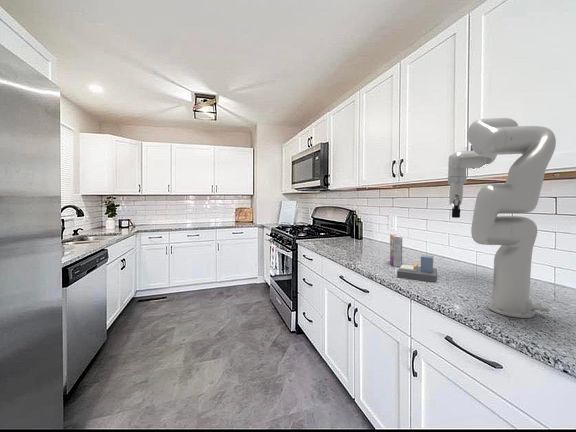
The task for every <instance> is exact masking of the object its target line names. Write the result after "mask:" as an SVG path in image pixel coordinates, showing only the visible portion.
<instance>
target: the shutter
mask: <svg viewBox="0 0 576 432" xmlns="http://www.w3.org/2000/svg"><path fill="white" fill-rule="evenodd" d="M418 265H419V263H418V262H415V263H414V265H412V264H410V265H409V264H402V265H401V267H399V268H400V270H407V271H417V269H418V267H419V266H418Z"/></svg>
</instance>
